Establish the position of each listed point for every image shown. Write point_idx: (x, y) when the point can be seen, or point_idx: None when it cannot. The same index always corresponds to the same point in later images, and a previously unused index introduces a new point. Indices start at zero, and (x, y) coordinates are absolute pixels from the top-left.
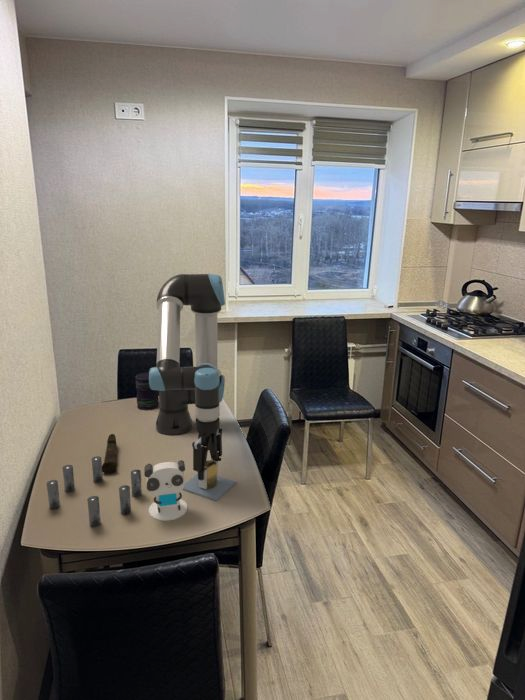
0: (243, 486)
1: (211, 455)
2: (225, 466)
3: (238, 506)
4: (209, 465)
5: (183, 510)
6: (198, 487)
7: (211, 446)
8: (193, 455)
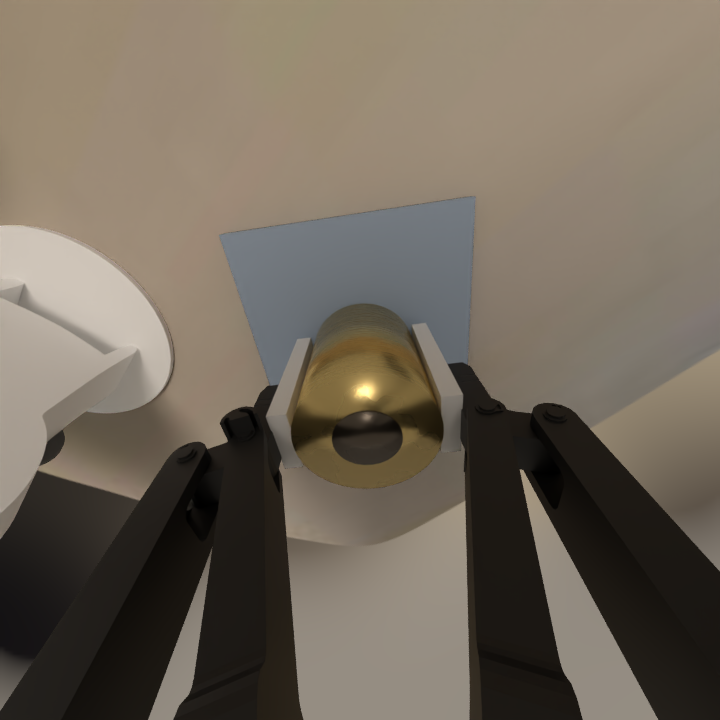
0: (454, 454)
1: (467, 447)
2: (609, 278)
3: (327, 504)
4: (360, 455)
5: (129, 398)
6: (302, 330)
7: (471, 630)
8: (46, 649)
